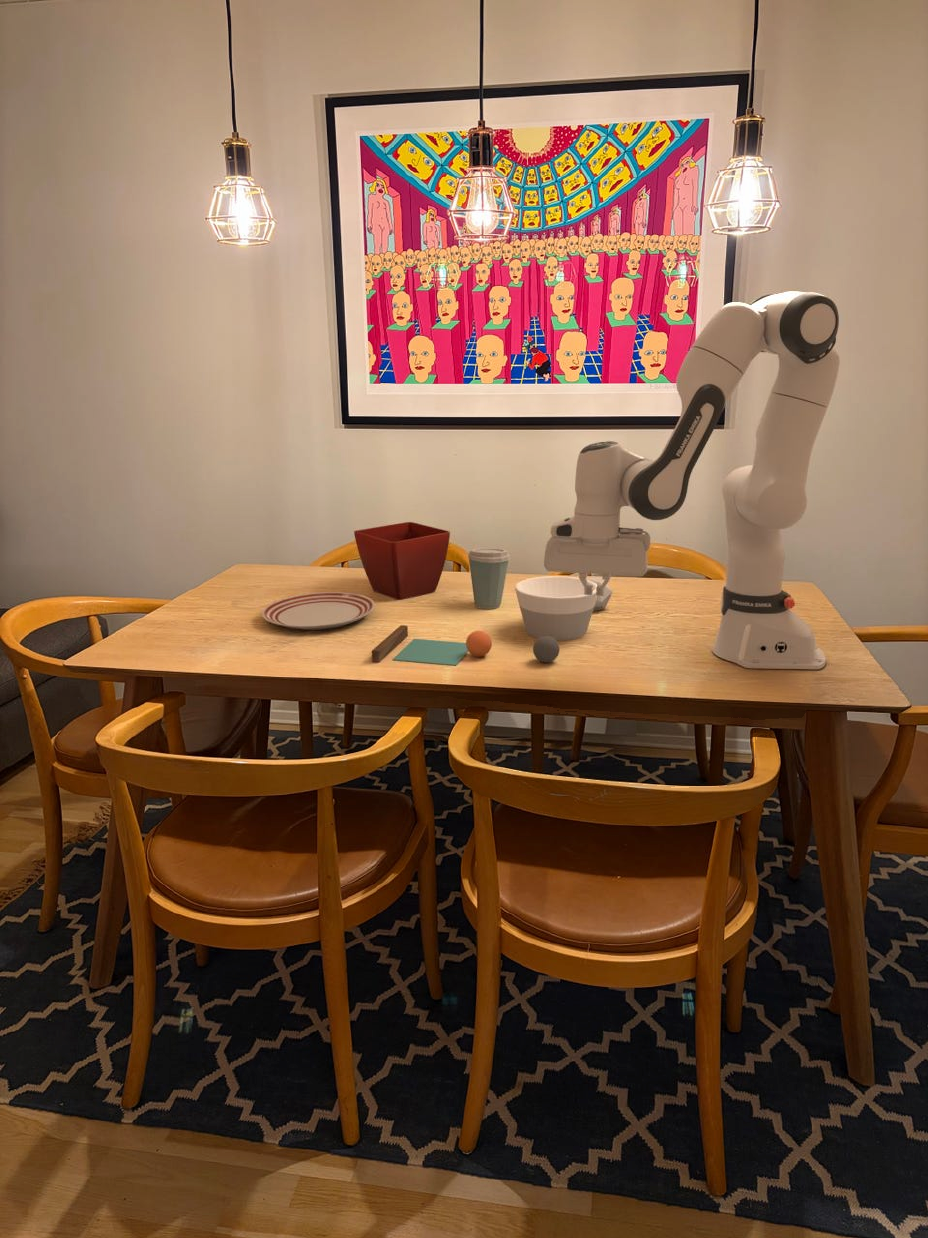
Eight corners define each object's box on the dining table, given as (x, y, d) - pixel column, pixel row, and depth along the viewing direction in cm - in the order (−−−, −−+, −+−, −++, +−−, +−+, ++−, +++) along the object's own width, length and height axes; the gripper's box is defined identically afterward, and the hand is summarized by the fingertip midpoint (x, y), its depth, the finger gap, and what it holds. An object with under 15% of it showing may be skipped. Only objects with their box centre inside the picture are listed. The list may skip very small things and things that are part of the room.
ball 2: (561, 658, 177) (561, 633, 176) (556, 667, 172) (557, 641, 171) (535, 656, 179) (536, 631, 177) (530, 664, 174) (530, 639, 172)
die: (568, 610, 213) (577, 587, 205) (579, 587, 218) (588, 563, 210) (598, 623, 212) (609, 600, 204) (608, 600, 217) (619, 576, 209)
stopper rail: (407, 636, 193) (407, 625, 192) (379, 662, 176) (378, 651, 175) (401, 635, 193) (400, 625, 192) (372, 661, 176) (371, 650, 176)
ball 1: (494, 652, 181) (494, 628, 179) (488, 661, 176) (488, 636, 174) (469, 650, 182) (469, 626, 181) (463, 659, 177) (462, 634, 176)
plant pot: (394, 605, 216) (392, 541, 211) (355, 591, 231) (352, 530, 226) (453, 592, 228) (452, 531, 223) (411, 579, 242) (410, 521, 237)
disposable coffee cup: (466, 600, 220) (466, 544, 215) (507, 599, 220) (507, 543, 216) (469, 612, 210) (469, 553, 205) (512, 611, 210) (513, 552, 206)
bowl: (596, 646, 184) (598, 599, 181) (509, 642, 188) (510, 596, 185) (598, 620, 203) (600, 577, 199) (519, 617, 206) (519, 574, 203)
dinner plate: (309, 645, 188) (308, 630, 187) (240, 621, 206) (238, 608, 205) (398, 617, 207) (398, 604, 206) (328, 597, 225) (327, 585, 224)
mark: (473, 644, 186) (473, 643, 186) (456, 665, 174) (456, 664, 174) (414, 639, 190) (414, 638, 190) (392, 660, 177) (392, 659, 177)
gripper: (651, 525, 165) (648, 593, 169) (548, 521, 170) (547, 587, 174) (649, 532, 159) (645, 602, 163) (542, 527, 164) (541, 595, 168)
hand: (594, 594), depth 168 cm, fingers closed
